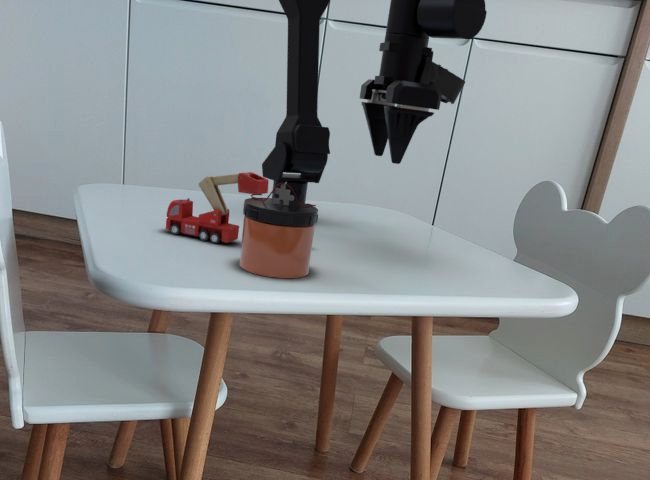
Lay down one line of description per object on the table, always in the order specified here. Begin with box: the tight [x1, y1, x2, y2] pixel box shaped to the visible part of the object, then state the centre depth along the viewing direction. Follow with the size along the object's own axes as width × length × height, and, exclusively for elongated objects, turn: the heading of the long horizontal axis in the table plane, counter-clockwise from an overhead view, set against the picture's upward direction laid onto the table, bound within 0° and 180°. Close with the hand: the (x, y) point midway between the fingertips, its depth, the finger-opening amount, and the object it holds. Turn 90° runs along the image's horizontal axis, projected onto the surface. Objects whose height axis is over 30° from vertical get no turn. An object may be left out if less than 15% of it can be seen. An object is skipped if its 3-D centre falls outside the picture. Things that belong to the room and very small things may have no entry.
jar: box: [239, 214, 316, 279], centre depth 81 cm, size 8×8×7 cm
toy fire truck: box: [165, 171, 269, 244], centre depth 91 cm, size 3×14×10 cm, turn 68°
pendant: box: [250, 182, 317, 207], centre depth 81 cm, size 8×4×3 cm, turn 85°
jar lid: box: [242, 197, 319, 226], centre depth 80 cm, size 9×9×2 cm
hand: (386, 159), depth 95 cm, fingers open, 9 cm apart
